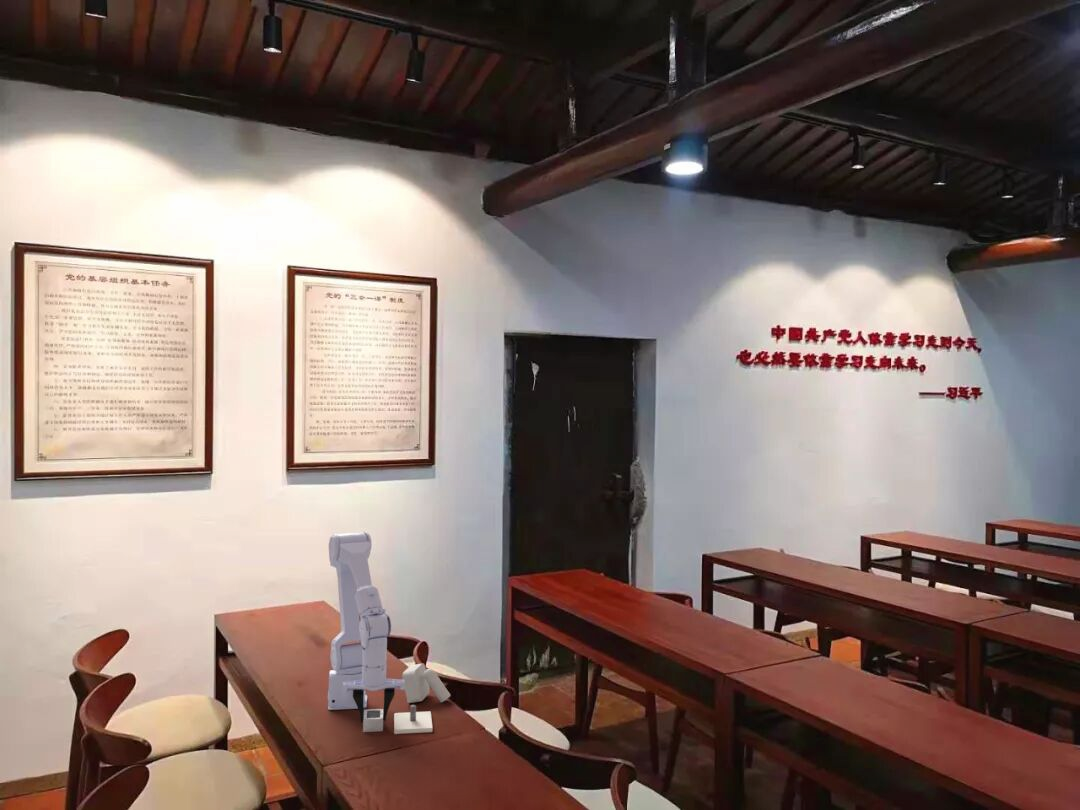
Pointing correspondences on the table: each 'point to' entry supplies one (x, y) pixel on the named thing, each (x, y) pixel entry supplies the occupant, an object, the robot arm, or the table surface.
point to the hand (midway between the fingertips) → (373, 719)
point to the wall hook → (422, 684)
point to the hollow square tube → (373, 720)
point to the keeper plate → (412, 721)
